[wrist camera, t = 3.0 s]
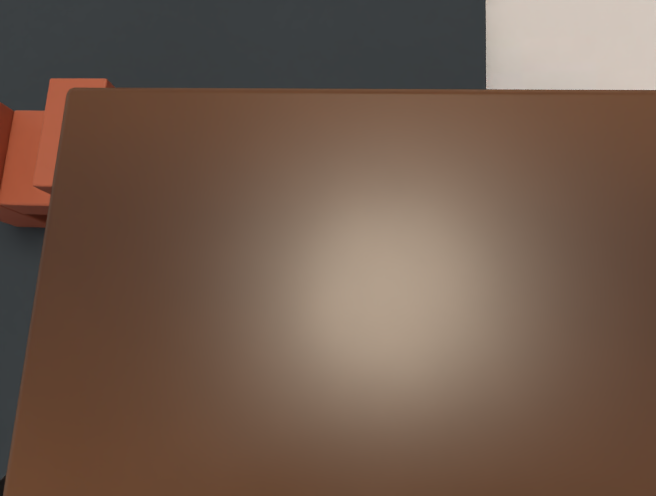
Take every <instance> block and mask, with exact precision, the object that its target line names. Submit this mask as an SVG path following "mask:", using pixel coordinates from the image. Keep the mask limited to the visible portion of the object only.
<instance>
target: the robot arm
mask: <svg viewBox="0 0 656 496" xmlns="http://www.w3.org/2000/svg"><path fill="white" fill-rule="evenodd" d="M5 479H6V475H5V476H4V477H3V478H2V479H1V480H0V496H3V491H4V485H5Z"/></svg>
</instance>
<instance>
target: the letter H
mask: <svg viewBox="0 0 656 496" xmlns="http://www.w3.org/2000/svg"><path fill="white" fill-rule="evenodd" d="M74 87H75V88H115V87H114V86H113V85H112V84H111V83H110V82H109V81H108V80H107V79H105V78H51V79H50V81H49V87H48V93H47V99H46V106H45V111H30V110H16V111H13V110H12V109H10V108H9V107H7V106H6V105H4V104H3V103H1V102H0V221H1V222H4V223H7V224H10V225H13V226H16V227H41V228H45V227H46V221H47V214H48V208H49V202H50V195H51V189H52V183H53V176H54V170H55V164H56V158H57V151H58V145H59V139H60V132H61V126H62V120H63V114H64V107H65V101H66V95H67V92H68V91H69V89H72V88H74Z"/></svg>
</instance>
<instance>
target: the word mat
mask: <svg viewBox="0 0 656 496" xmlns="http://www.w3.org/2000/svg"><path fill="white" fill-rule="evenodd" d="M51 78H105V79H107V80H108V81H109V82H110V83H111V84H112V85H113V86H114V87H115V88H281V89H486V11H485V0H0V102H1V103H3V104H4V105H6V106H7V107H9V108H10V109H12V110H13V111H16V110H30V111H45V106H46V99H47V93H48V87H49V81H50V79H51ZM44 233H45V228H41V227H16V226H13V225H10V224H7V223H4V222H1V221H0V480H1V479H2V478H3V477H4V476H5V475H6V473H7V466H8V460H9V454H10V447H11V441H12V435H13V428H14V422H15V416H16V410H17V403H18V397H19V391H20V384H21V378H22V372H23V365H24V359H25V353H26V347H27V340H28V334H29V328H30V321H31V315H32V309H33V302H34V296H35V290H36V284H37V277H38V271H39V265H40V258H41V252H42V246H43V239H44Z"/></svg>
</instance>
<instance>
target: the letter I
mask: <svg viewBox="0 0 656 496" xmlns="http://www.w3.org/2000/svg"><path fill="white" fill-rule="evenodd" d="M3 496H656V90H487V89H281V88H75V87H74V88H72V89H69V91H68V92H67V95H66V101H65V107H64V114H63V120H62V126H61V132H60V139H59V145H58V151H57V158H56V164H55V170H54V176H53V183H52V189H51V195H50V202H49V208H48V214H47V221H46V227H45V233H44V239H43V246H42V252H41V258H40V265H39V271H38V277H37V284H36V290H35V296H34V302H33V309H32V315H31V321H30V328H29V334H28V340H27V347H26V353H25V359H24V365H23V372H22V378H21V384H20V391H19V397H18V403H17V410H16V416H15V422H14V428H13V435H12V441H11V447H10V454H9V460H8V466H7V473H6V479H5V485H4V491H3Z"/></svg>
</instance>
